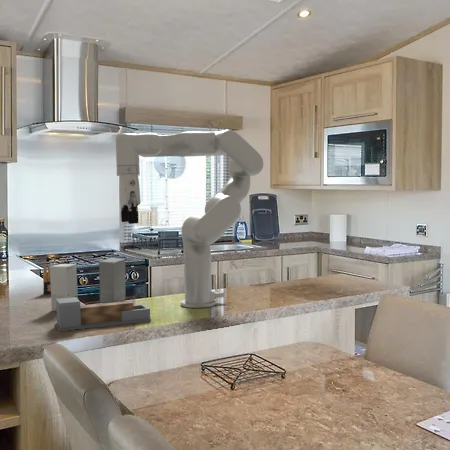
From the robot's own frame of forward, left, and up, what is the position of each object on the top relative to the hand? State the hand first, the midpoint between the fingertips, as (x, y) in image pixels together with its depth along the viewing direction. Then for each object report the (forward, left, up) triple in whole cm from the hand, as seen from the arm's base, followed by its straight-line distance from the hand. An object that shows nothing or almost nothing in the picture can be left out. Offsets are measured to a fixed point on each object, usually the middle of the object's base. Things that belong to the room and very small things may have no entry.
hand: (129, 222), depth 187 cm
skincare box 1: (+20, -16, -31) cm, 40 cm away
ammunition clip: (+19, -47, -31) cm, 59 cm away
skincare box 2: (+2, -20, -31) cm, 37 cm away
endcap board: (+12, +11, -30) cm, 34 cm away
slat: (+12, +11, -30) cm, 34 cm away
